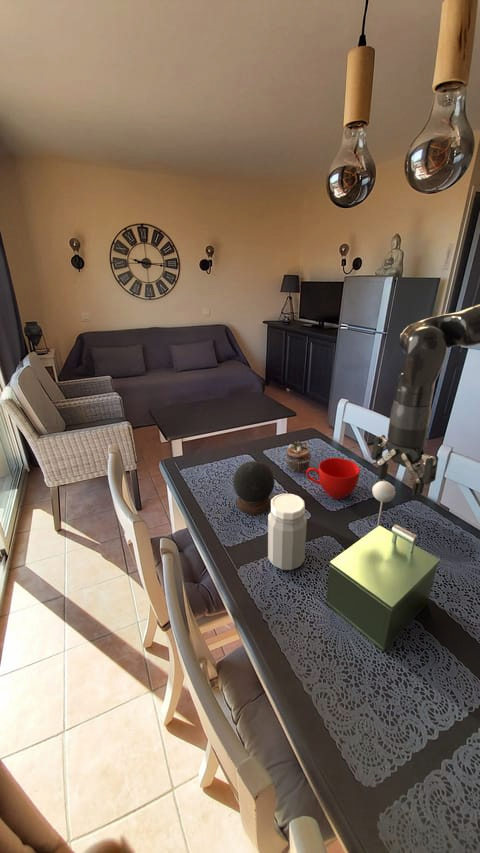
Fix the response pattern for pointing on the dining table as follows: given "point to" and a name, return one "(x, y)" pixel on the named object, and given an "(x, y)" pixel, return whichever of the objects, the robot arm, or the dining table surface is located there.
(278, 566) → the jar
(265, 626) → the dining table surface
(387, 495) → the lollipop
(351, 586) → the bin
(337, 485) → the ceramic cup
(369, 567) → the green lid with handle
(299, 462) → the cupcake
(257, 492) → the dark sphere on stand
